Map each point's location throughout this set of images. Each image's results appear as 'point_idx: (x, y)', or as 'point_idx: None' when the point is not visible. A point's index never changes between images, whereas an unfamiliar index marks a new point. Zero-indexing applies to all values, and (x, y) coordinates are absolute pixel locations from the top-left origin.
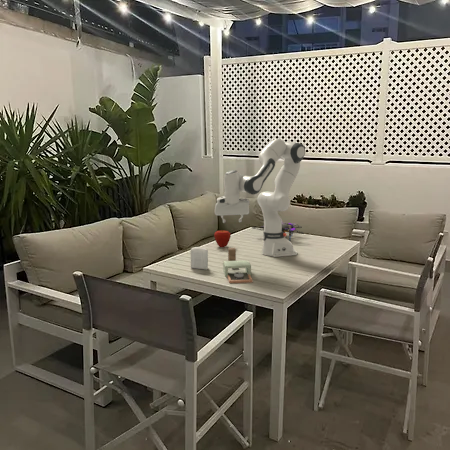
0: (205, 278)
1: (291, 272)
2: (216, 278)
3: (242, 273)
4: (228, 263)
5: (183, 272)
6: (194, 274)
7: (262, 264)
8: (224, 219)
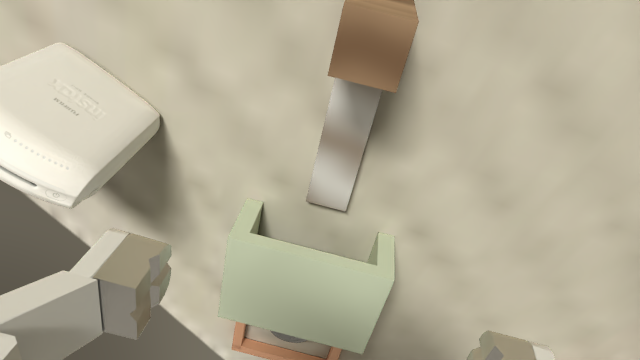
0: None
1: (592, 348)
2: (189, 277)
3: None
4: (248, 285)
5: None
6: None
7: (551, 178)
8: (115, 294)
